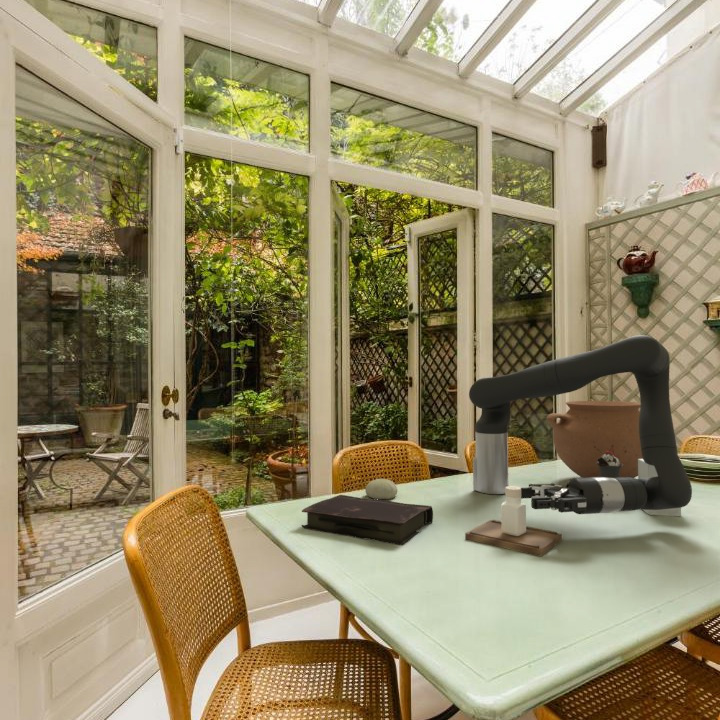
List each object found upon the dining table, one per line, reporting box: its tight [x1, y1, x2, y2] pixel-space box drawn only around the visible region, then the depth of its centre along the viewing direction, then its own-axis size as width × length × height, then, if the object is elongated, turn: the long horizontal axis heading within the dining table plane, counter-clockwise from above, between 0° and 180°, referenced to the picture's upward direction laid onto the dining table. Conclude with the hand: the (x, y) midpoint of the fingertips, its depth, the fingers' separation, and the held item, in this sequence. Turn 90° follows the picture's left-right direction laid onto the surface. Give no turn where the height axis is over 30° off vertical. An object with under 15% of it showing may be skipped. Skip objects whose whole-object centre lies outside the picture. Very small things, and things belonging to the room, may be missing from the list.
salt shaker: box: [500, 485, 527, 536], centre depth 106 cm, size 4×4×10 cm
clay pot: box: [546, 400, 643, 479], centre depth 158 cm, size 34×30×25 cm
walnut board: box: [464, 519, 563, 557], centre depth 106 cm, size 16×12×2 cm
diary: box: [301, 494, 434, 546], centre depth 116 cm, size 19×25×5 cm
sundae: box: [596, 445, 623, 478], centre depth 136 cm, size 7×7×15 cm
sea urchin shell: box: [365, 478, 398, 500], centre depth 143 cm, size 9×8×8 cm
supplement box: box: [637, 459, 682, 517], centre depth 126 cm, size 7×7×13 cm
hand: (522, 498), depth 107 cm, fingers open, 8 cm apart
